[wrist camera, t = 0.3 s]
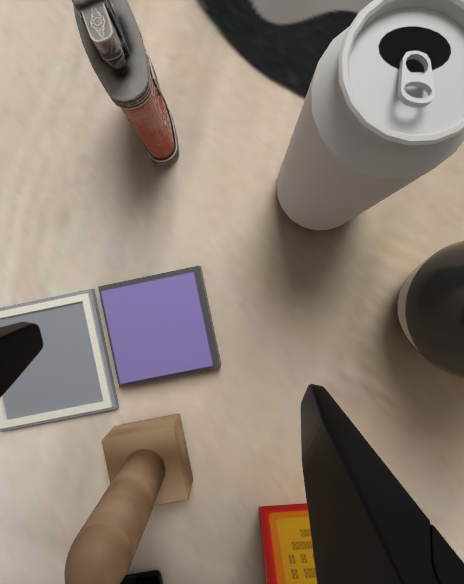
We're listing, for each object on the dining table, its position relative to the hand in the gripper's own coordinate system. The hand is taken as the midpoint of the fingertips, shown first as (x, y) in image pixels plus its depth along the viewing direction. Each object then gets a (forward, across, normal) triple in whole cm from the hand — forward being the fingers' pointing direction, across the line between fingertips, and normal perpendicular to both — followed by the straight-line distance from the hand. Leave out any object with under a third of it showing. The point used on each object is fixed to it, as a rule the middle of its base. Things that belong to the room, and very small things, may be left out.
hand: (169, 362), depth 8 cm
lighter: (+19, +9, -9) cm, 23 cm away
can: (+18, -6, -6) cm, 20 cm away
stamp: (+7, +3, +18) cm, 19 cm away
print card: (+9, +14, +12) cm, 21 cm away
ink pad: (+11, +5, +7) cm, 14 cm away
